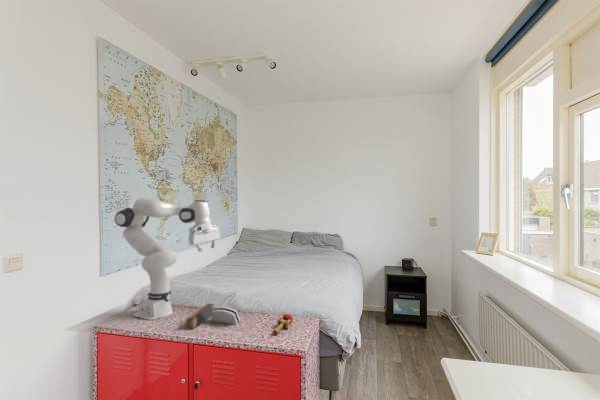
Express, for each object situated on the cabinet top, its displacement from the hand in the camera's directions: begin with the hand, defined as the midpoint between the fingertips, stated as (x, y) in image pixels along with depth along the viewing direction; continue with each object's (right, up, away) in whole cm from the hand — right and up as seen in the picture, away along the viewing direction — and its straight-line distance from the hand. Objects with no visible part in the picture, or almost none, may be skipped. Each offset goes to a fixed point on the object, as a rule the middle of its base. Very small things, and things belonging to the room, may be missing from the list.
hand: (206, 249), depth 180 cm
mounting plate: (0, -41, -4) cm, 41 cm away
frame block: (-2, -41, -4) cm, 41 cm away
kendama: (+47, -42, -15) cm, 64 cm away
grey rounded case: (+13, -42, -6) cm, 44 cm away
